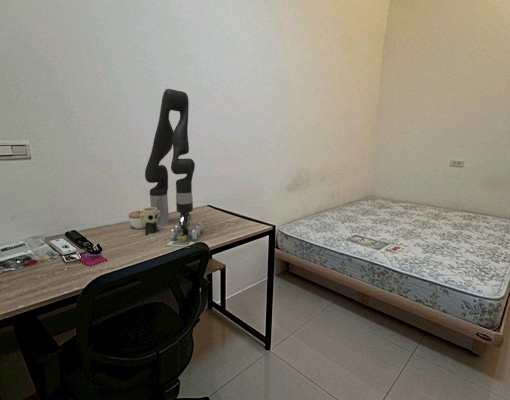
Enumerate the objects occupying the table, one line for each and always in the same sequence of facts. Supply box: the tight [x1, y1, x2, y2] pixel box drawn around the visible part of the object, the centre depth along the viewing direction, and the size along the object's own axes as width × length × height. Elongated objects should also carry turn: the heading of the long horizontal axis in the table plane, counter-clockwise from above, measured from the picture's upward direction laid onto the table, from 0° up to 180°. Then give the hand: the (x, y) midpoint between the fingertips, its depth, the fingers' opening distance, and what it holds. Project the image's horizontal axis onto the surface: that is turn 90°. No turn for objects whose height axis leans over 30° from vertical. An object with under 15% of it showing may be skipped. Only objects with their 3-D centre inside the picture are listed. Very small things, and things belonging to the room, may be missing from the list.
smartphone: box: [78, 250, 108, 267], centre depth 121 cm, size 8×1×15 cm
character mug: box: [140, 206, 160, 235], centre depth 150 cm, size 11×7×13 cm, turn 138°
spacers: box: [169, 220, 204, 243], centre depth 144 cm, size 13×15×6 cm
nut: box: [177, 233, 187, 243], centre depth 138 cm, size 4×5×3 cm
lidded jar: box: [128, 210, 146, 230], centre depth 159 cm, size 11×11×9 cm
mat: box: [165, 228, 205, 248], centre depth 143 cm, size 12×24×2 cm, turn 177°
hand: (185, 236), depth 142 cm, fingers closed
